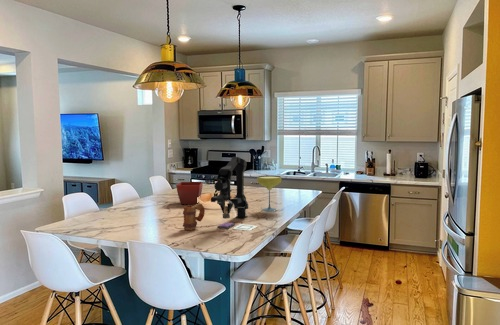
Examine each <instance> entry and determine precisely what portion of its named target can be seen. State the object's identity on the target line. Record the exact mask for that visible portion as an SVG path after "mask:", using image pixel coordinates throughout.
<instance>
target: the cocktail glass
mask: <svg viewBox="0 0 500 325" xmlns="http://www.w3.org/2000/svg"><path fill="white" fill-rule="evenodd" d="M256 180H257V183H258V184H259V185H261V186H262V187H265V188H266V190H267V191H268V207H267V208H266V207H265V208H263V209H261V210H262V211H263V212H275V211H274V210H276V209H277V208H273V207H272V206H271V190H272V189H273V188H275V186H278V185H280V184H281V183H282V176H280V175H259V176H257V178H256ZM276 211H277V210H276Z"/></svg>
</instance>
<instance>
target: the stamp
mask: <svg viewBox="0 0 500 325" xmlns="http://www.w3.org/2000/svg"><path fill="white" fill-rule="evenodd" d="M230 218H231V216H230V213H229V214H228V205H225V206H224V214H223V213H222V219H227V220H228V219H230Z"/></svg>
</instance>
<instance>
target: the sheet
mask: <svg viewBox="0 0 500 325" xmlns="http://www.w3.org/2000/svg"><path fill="white" fill-rule="evenodd" d="M258 227H259V225H252V224H243V223H240V224H238V225H235V226H233V228H232V227H231V228H232V230H239V231H247V232H248V231H249V232H250V231H253V230H254V229H256V228H258ZM252 229H253V230H252Z"/></svg>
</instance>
